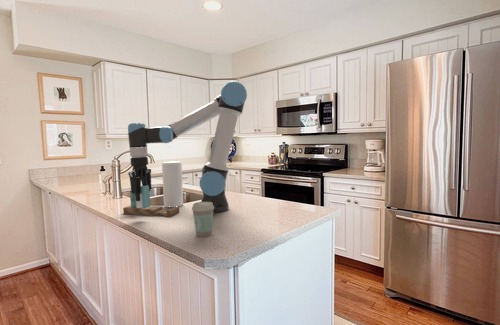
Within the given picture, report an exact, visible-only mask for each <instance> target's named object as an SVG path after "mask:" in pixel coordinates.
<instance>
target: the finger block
mask: <svg viewBox="0 0 500 325" xmlns="http://www.w3.org/2000/svg"><path fill="white" fill-rule="evenodd" d="M140 194H142V203H143V208H147V207H150V206H152V205H151V195H150V191H149V185H142V184H141V191H140ZM135 203H136V197H135ZM136 208H137V203H136Z"/></svg>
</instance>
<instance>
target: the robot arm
mask: <svg viewBox="0 0 500 325" xmlns="http://www.w3.org/2000/svg"><path fill="white" fill-rule="evenodd" d="M247 96H248V93H247V90H246V87H245V86H244V84H243V83H242V82H239V81H237V80H231V81H228V82H227V83H225V84H224V85H223V86H222V88H221V90H220V94H219V95H217V96H216V97H214V98H213V101H210V102H209V103H207V104H206V105H204V106H201V107H200V108H198V109H196V110H194V111H192V112H191V113H188V114H187V115H185V116H183V117H181V118H179V119H177V120H176V121H174V122H172V123H170V124H168V125H166V126H165V125H164V126H152V127H151V126H150V127H149V126H146V124H145V123H144V122H143V123H142V122H134V123H133V122H132V123H129V124H128V125H127V132H128V133H127V136H128V142H129V143H128V144H129V146H128V147H129V156H130V166H131V167H132V171H129V172H128V173H127V174H128V177H129V183H130V191H131V193H133V194H135V197H136V203H137V208H143V203H142V194H140V191H141V185H149V192H151V190H152V169H151V168H148V167H147V166H148V165H149V158H148V155H149V154H148V144H169V143H172V142H173V140H175V139H177V138H179V137H181V136H182V135H184V134H186V133H188V132H190V131H192V130H194V129H196V128H198V127H200V126H201V125H204V124H205V123H207V122H209V121H211V120H213V119H214V118H217V117H218V120H217V124H216V129H215V132H214V137H213V142H212V145H211V148H210V154H209V159H208V161H207V162H206V163H204V164H203V165H204V166H202V169H201V177H200V178H199V187H200V189H201V191H202V198H201V201H200V202H212V203H213V206H214V209H213V214H214V213H215V214H216V213H221V212H227V211H228V210H229V208H230V206H229V202H228V199H227V197H226V196H227V195H226V181H227V177H228V172H229V168H228V167H227V163H228V158H229V154H230V150H231V146H232V144H233V143H232V142H233V138H234V134H235V131H236V125H237V122H238V118H239V117H240V116H242V114H243V110H244V106H245V102H246V100H247V98H248V97H247Z"/></svg>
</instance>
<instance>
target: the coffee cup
mask: <svg viewBox="0 0 500 325" xmlns="http://www.w3.org/2000/svg"><path fill="white" fill-rule="evenodd" d="M213 209H214V206H213V203H212V202H201V201H199V202H193V204H192V206H191V211H192V216H193V222H194V228H195V234H196V236H197V237H202V238H203V237H210V236H211V235H212V232H213V219H214V213H213Z"/></svg>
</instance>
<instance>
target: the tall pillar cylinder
mask: <svg viewBox="0 0 500 325" xmlns="http://www.w3.org/2000/svg"><path fill="white" fill-rule="evenodd" d="M182 163H183V162H182V161H174V160H173V161H162V162H161V169H162V170H161V171H162V187H163V188H162V192H163V193H162V194H163V196H162V197H163V208H166V207H169V206H170V207H176V206H180V207H182V206H181V205H183V206H184V191H183V188H184V186H183V164H182Z"/></svg>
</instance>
